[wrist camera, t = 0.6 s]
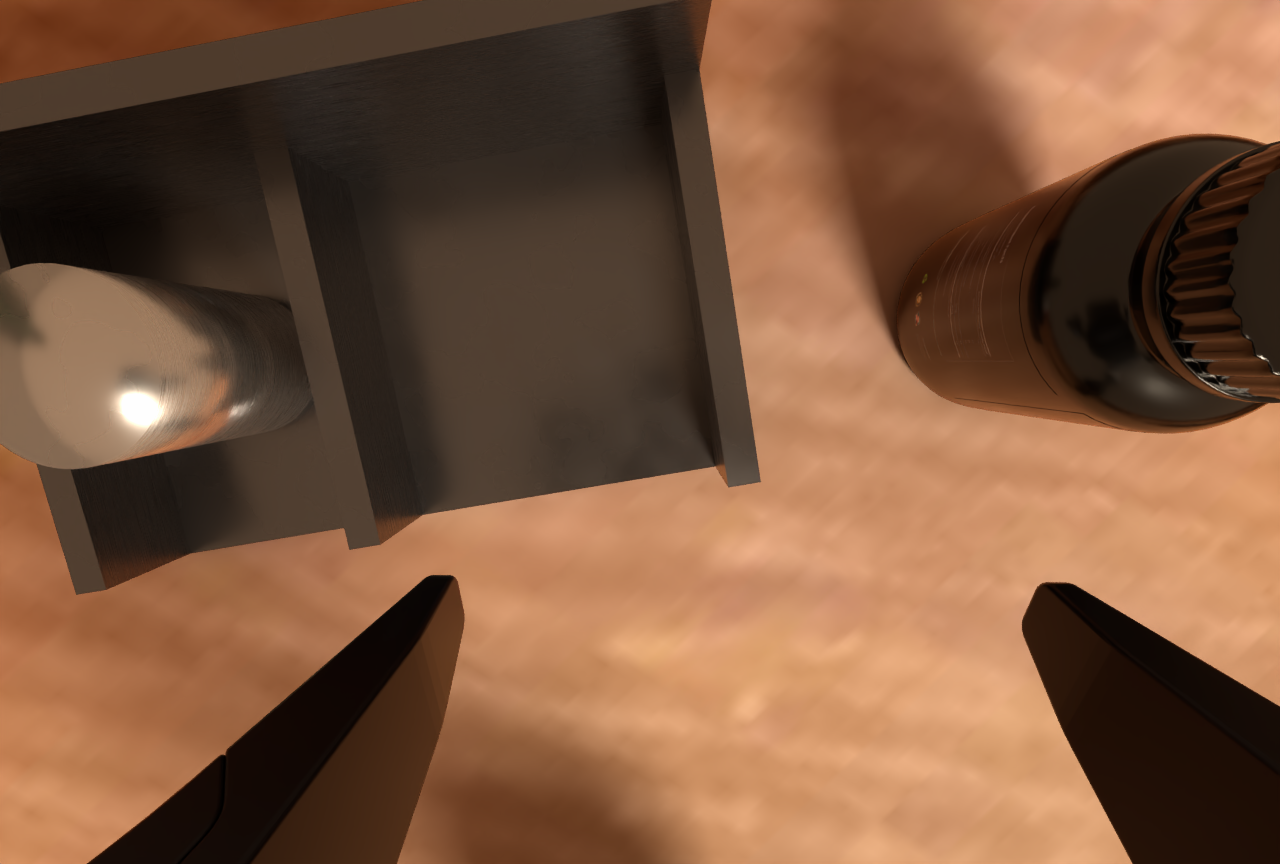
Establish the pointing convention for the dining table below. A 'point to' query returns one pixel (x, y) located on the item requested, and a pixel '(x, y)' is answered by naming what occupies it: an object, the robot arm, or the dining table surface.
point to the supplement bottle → (1112, 293)
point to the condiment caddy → (364, 276)
